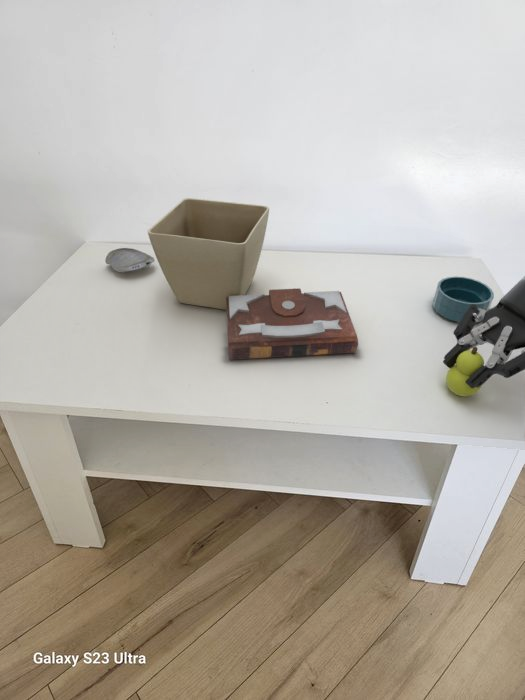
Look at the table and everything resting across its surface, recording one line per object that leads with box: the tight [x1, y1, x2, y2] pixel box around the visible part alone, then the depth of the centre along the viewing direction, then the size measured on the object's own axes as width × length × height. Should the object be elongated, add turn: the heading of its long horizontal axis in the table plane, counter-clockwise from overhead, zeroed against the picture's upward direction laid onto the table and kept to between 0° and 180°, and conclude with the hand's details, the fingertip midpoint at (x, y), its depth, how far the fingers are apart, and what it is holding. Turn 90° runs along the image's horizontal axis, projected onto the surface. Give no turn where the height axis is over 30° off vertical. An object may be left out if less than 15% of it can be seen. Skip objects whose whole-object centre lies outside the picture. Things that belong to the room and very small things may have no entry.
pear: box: [445, 346, 485, 397], centre depth 73 cm, size 5×5×9 cm
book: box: [226, 287, 359, 361], centre depth 87 cm, size 23×16×5 cm
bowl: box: [432, 276, 495, 323], centre depth 94 cm, size 11×11×5 cm
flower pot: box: [147, 197, 270, 311], centre depth 95 cm, size 19×19×17 cm
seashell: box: [104, 247, 156, 273], centre depth 106 cm, size 12×8×5 cm
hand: (457, 375), depth 73 cm, fingers closed on pear, 4 cm apart
